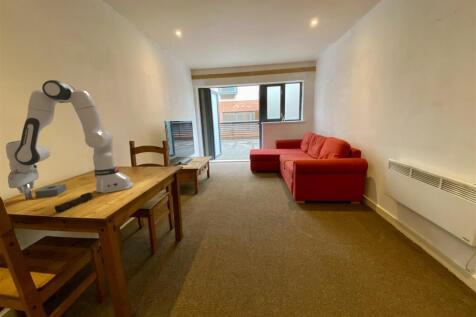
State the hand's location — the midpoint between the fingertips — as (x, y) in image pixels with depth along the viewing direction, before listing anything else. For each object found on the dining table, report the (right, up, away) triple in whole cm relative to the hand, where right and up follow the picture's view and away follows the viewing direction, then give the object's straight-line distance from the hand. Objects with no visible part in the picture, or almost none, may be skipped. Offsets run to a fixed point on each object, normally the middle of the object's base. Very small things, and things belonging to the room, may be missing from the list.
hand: (27, 190), depth 123 cm
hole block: (+7, -3, +9) cm, 12 cm away
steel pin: (0, -5, +1) cm, 5 cm away
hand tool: (+38, -6, -11) cm, 40 cm away
